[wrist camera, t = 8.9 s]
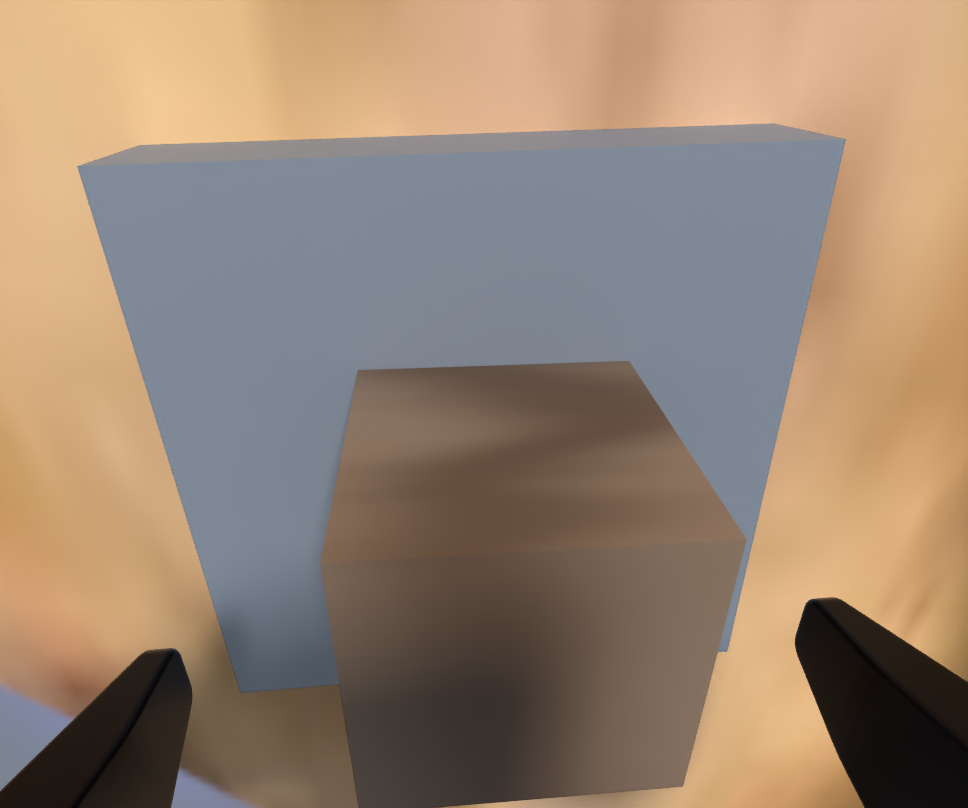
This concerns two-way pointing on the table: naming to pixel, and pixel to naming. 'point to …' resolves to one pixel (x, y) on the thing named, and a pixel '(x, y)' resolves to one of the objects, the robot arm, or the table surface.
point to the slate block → (443, 313)
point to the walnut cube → (521, 585)
